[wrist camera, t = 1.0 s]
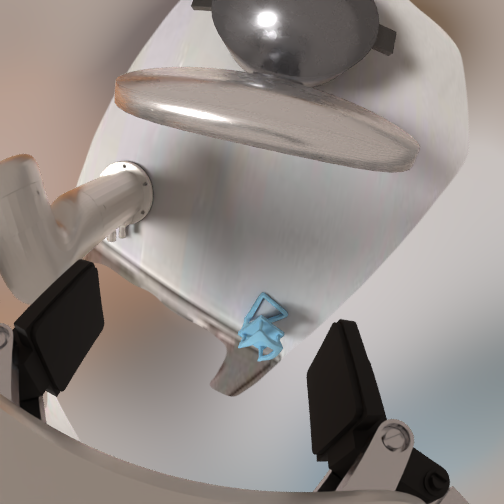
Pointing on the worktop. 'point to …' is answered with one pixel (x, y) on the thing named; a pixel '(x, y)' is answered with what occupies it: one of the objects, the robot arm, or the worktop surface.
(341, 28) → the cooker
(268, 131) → the lid
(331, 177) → the worktop surface
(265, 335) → the light blue angular piece
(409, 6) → the worktop surface
